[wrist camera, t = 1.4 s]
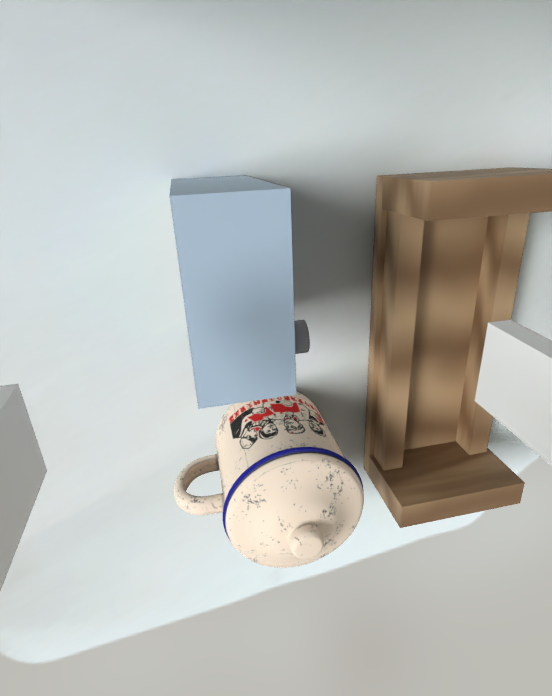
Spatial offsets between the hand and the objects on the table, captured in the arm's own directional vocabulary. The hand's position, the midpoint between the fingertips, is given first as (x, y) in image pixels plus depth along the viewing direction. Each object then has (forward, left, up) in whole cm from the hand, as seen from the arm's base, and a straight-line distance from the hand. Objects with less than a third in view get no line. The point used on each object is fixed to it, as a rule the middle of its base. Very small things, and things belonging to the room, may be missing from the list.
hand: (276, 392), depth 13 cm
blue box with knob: (0, 0, -19) cm, 19 cm away
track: (+8, +16, -19) cm, 26 cm away
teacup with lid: (+14, +1, -19) cm, 24 cm away
